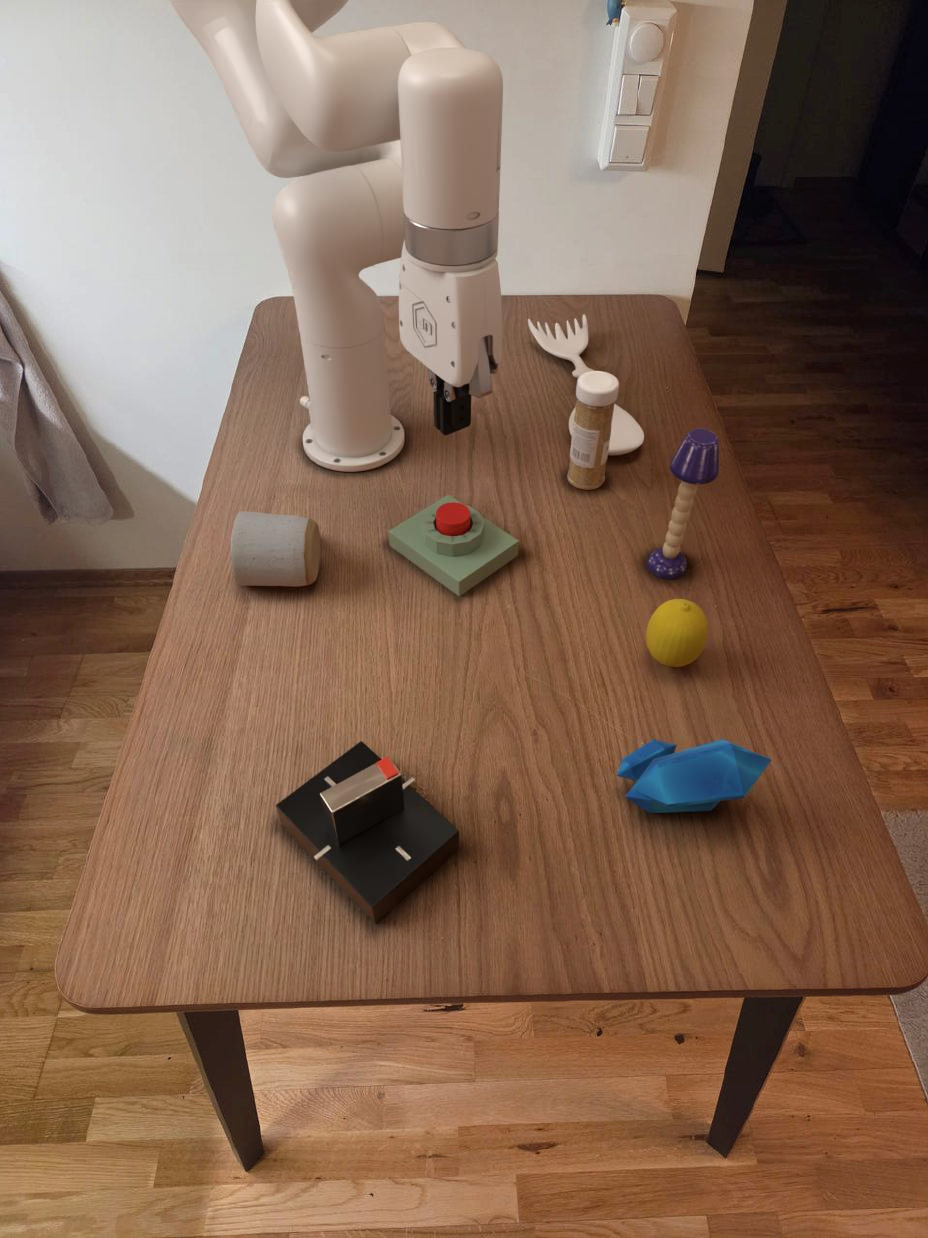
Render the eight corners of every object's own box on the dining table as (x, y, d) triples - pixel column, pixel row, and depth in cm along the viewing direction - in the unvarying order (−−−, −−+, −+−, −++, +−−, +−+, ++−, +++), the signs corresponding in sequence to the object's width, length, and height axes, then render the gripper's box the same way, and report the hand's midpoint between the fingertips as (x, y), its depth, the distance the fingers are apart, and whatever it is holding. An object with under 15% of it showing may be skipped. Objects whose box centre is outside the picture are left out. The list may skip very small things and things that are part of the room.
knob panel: (274, 828, 71) (268, 808, 69) (369, 755, 76) (366, 735, 74) (369, 930, 65) (365, 912, 63) (464, 844, 70) (464, 824, 68)
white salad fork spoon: (584, 332, 126) (586, 310, 124) (652, 463, 105) (656, 439, 102) (524, 337, 125) (525, 315, 123) (580, 470, 104) (583, 447, 101)
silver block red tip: (338, 846, 67) (331, 811, 63) (326, 826, 68) (318, 791, 64) (405, 808, 69) (401, 772, 65) (392, 790, 70) (388, 754, 66)
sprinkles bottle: (612, 483, 102) (628, 383, 92) (582, 496, 101) (595, 396, 91) (587, 463, 105) (601, 364, 95) (558, 476, 103) (568, 376, 93)
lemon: (663, 691, 81) (679, 634, 75) (629, 651, 84) (641, 594, 78) (709, 670, 83) (728, 613, 77) (674, 632, 86) (690, 575, 80)
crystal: (605, 724, 70) (752, 692, 69) (615, 778, 76) (750, 750, 75) (625, 804, 65) (785, 771, 64) (634, 855, 71) (780, 826, 70)
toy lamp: (659, 545, 95) (689, 416, 83) (698, 562, 93) (735, 432, 81) (639, 569, 92) (667, 440, 80) (679, 587, 90) (714, 457, 78)
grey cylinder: (317, 601, 89) (308, 544, 83) (237, 600, 89) (223, 544, 83) (328, 534, 96) (320, 478, 90) (255, 533, 96) (242, 477, 90)
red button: (429, 525, 91) (428, 512, 90) (453, 510, 93) (453, 497, 92) (452, 541, 90) (452, 529, 88) (477, 525, 91) (477, 513, 90)
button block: (389, 545, 95) (387, 517, 92) (448, 508, 99) (447, 481, 96) (459, 596, 89) (459, 569, 86) (518, 555, 94) (520, 527, 91)
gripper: (364, 212, 72) (379, 403, 85) (465, 282, 63) (464, 481, 77) (439, 192, 75) (442, 380, 88) (546, 256, 66) (531, 452, 80)
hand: (452, 426), depth 82 cm, fingers closed
